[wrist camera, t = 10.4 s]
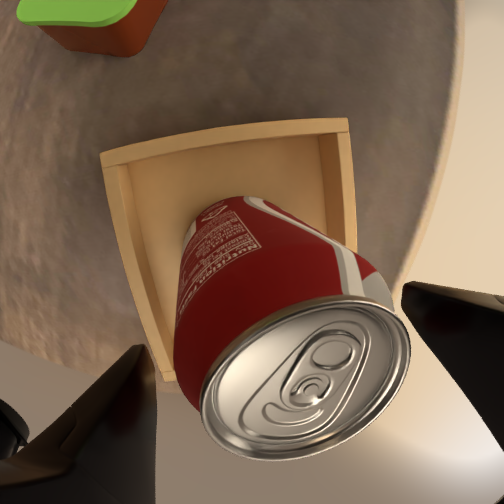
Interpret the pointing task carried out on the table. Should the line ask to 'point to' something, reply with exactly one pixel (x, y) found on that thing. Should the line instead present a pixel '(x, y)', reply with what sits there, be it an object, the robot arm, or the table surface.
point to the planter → (94, 23)
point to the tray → (219, 198)
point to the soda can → (282, 333)
